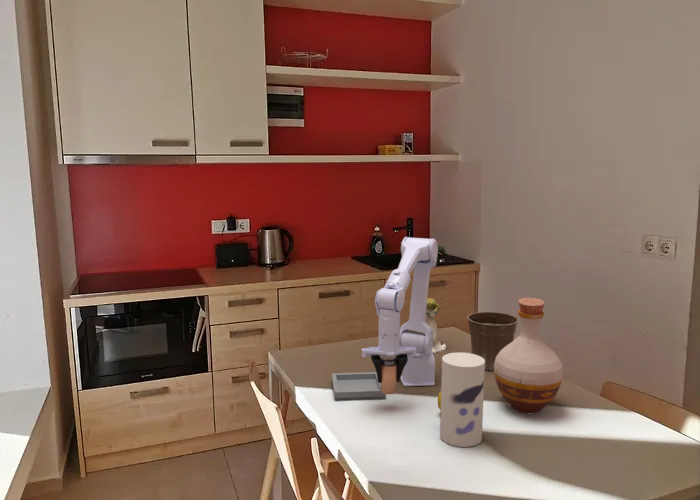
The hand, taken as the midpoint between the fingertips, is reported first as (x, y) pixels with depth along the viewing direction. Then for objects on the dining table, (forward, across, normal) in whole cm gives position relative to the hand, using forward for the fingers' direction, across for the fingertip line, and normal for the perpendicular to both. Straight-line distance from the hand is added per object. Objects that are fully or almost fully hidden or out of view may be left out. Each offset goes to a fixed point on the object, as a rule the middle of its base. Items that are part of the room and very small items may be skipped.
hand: (388, 381), depth 153 cm
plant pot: (+8, +39, +30) cm, 50 cm away
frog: (+8, +22, +48) cm, 53 cm away
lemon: (+8, +15, -6) cm, 18 cm away
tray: (+8, -7, +13) cm, 17 cm away
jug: (+8, +38, -2) cm, 39 cm away
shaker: (+3, 0, 0) cm, 3 cm away
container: (+8, +15, -18) cm, 25 cm away
